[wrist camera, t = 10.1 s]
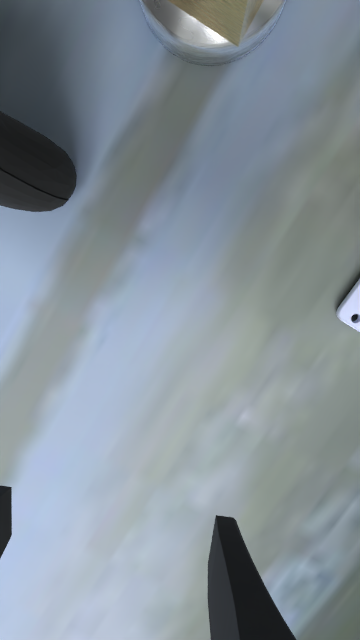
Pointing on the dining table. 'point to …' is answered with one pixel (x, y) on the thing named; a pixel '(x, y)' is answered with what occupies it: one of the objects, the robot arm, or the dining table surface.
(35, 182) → the gaming controller
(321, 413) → the dining table surface
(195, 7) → the brushed gold cube
